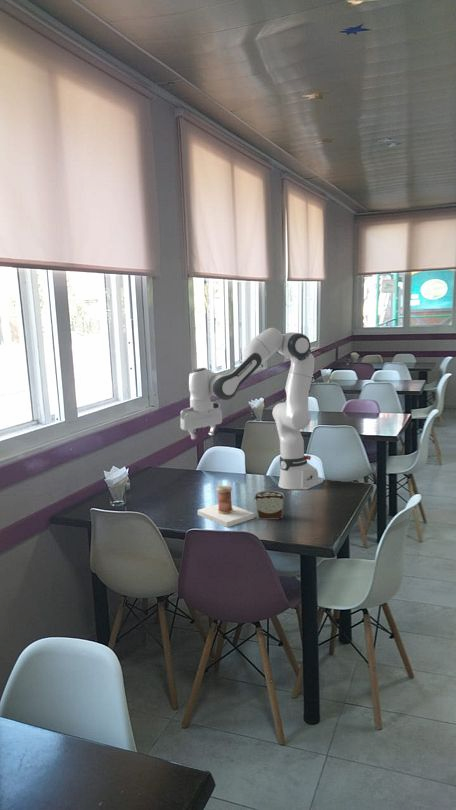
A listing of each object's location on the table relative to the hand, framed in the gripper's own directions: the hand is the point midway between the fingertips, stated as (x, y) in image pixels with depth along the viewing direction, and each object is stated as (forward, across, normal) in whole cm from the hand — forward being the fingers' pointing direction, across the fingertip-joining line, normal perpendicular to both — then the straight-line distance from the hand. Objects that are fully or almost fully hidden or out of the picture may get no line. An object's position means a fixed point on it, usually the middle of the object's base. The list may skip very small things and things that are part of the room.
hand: (202, 437), depth 248 cm
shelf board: (+29, -6, -22) cm, 37 cm away
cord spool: (+27, -6, -22) cm, 35 cm away
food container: (+29, +7, -35) cm, 46 cm away
